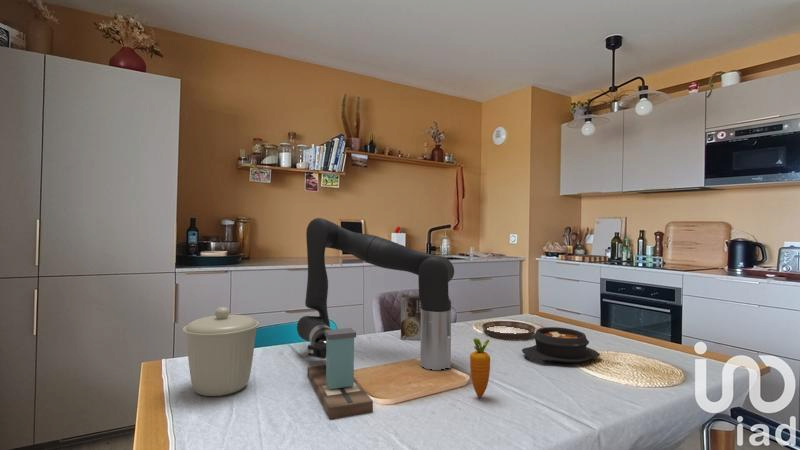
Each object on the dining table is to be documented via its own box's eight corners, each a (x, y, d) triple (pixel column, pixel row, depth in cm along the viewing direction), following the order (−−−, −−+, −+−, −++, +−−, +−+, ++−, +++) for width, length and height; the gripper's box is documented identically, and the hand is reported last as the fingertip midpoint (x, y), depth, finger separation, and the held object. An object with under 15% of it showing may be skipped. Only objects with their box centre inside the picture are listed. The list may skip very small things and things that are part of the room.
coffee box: (425, 336, 159) (425, 294, 159) (424, 340, 152) (424, 297, 152) (401, 335, 159) (402, 293, 160) (400, 339, 153) (400, 296, 153)
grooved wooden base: (307, 375, 115) (307, 366, 115) (342, 371, 119) (342, 362, 119) (329, 419, 89) (329, 407, 89) (372, 412, 93) (372, 400, 93)
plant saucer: (482, 340, 154) (482, 331, 154) (481, 327, 175) (481, 319, 175) (539, 343, 151) (539, 334, 151) (531, 329, 171) (531, 321, 171)
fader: (324, 382, 102) (324, 330, 102) (350, 379, 105) (350, 327, 105) (328, 390, 98) (328, 334, 98) (355, 386, 100) (356, 332, 100)
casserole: (541, 370, 122) (541, 342, 122) (511, 351, 140) (511, 327, 140) (614, 365, 127) (614, 338, 127) (576, 347, 145) (576, 324, 145)
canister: (181, 409, 93) (182, 317, 94) (182, 382, 109) (183, 303, 110) (263, 395, 102) (264, 310, 102) (253, 372, 118) (254, 299, 118)
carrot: (491, 395, 103) (491, 335, 103) (488, 403, 98) (489, 341, 98) (471, 392, 105) (471, 334, 105) (468, 400, 100) (468, 339, 100)
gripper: (301, 329, 117) (311, 345, 101) (346, 325, 122) (363, 340, 106) (300, 355, 117) (311, 376, 101) (345, 350, 122) (363, 369, 106)
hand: (338, 357), depth 103 cm, fingers closed
